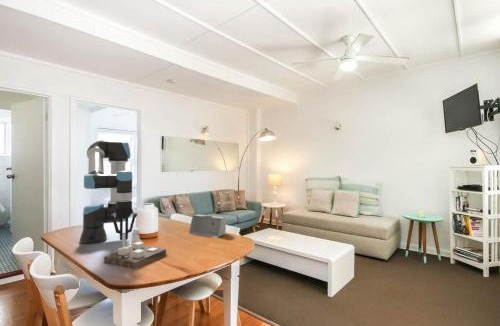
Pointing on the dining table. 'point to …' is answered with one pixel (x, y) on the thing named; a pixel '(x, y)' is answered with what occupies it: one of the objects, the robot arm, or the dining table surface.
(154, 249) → the button
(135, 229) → the seated beast figurine
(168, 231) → the dining table surface
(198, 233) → the grey rectangular block
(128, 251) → the button
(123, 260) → the board
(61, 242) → the dining table surface
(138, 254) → the button
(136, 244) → the button
